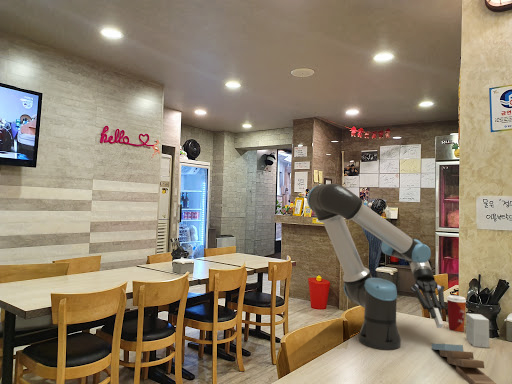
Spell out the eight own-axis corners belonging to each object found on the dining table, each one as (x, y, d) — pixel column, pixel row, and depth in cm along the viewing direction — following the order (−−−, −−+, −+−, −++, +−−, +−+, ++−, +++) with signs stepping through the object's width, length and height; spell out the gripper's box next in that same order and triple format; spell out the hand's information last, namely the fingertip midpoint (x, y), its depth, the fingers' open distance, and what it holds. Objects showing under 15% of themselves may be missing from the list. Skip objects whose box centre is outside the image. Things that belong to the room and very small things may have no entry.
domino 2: (446, 356, 125) (463, 359, 114) (465, 357, 125) (483, 361, 113) (447, 363, 124) (464, 367, 113) (466, 364, 124) (484, 368, 113)
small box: (489, 348, 139) (489, 320, 140) (473, 346, 140) (473, 318, 141) (481, 340, 147) (481, 314, 147) (465, 339, 148) (466, 312, 149)
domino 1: (439, 349, 131) (453, 351, 120) (456, 350, 130) (472, 352, 119) (439, 356, 130) (454, 357, 119) (457, 357, 130) (473, 358, 119)
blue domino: (431, 343, 137) (444, 343, 126) (448, 344, 137) (462, 345, 126) (432, 349, 136) (445, 350, 125) (448, 350, 136) (463, 351, 125)
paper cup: (465, 334, 154) (466, 300, 155) (445, 330, 159) (445, 297, 159) (466, 328, 161) (467, 296, 162) (446, 325, 165) (447, 293, 166)
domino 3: (456, 365, 119) (475, 383, 107) (475, 366, 119) (497, 384, 107) (455, 371, 119) (475, 390, 107) (475, 372, 119) (497, 391, 107)
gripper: (435, 278, 156) (454, 331, 139) (404, 277, 157) (419, 330, 140) (441, 267, 151) (462, 321, 134) (408, 266, 152) (425, 320, 135)
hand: (440, 325), depth 137 cm, fingers closed
